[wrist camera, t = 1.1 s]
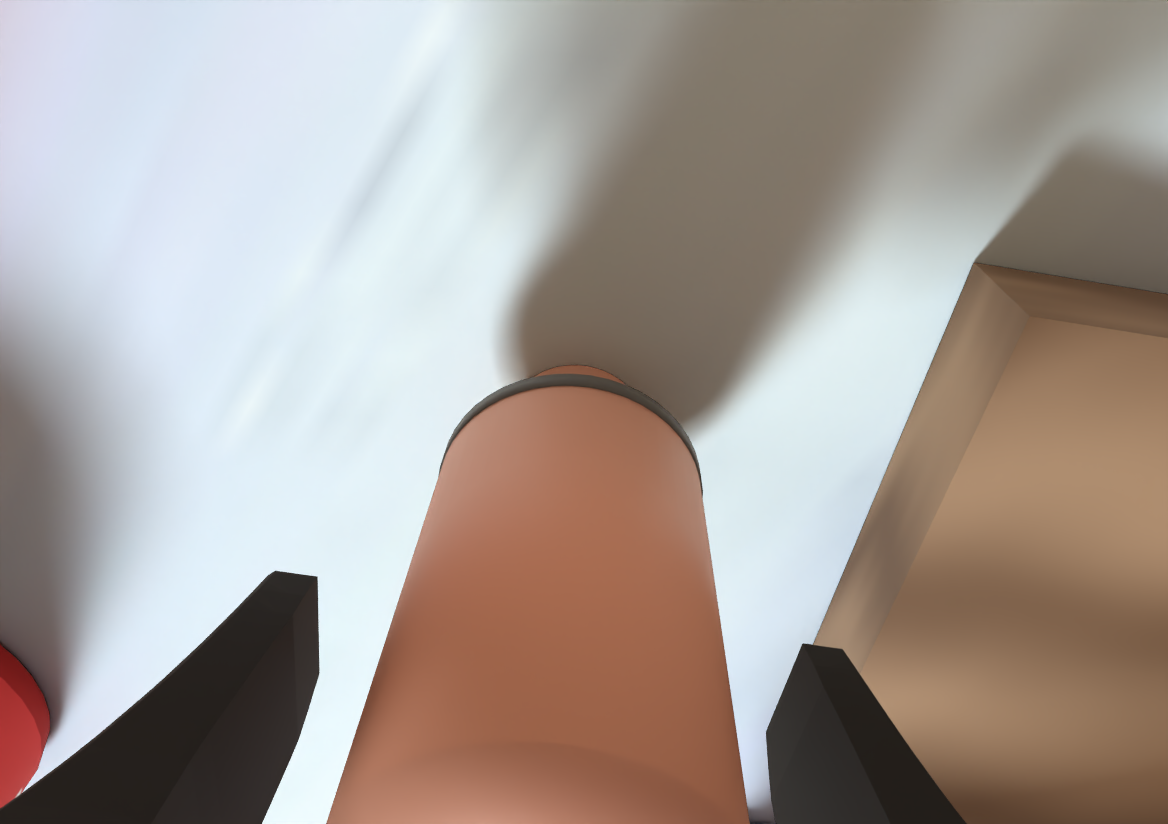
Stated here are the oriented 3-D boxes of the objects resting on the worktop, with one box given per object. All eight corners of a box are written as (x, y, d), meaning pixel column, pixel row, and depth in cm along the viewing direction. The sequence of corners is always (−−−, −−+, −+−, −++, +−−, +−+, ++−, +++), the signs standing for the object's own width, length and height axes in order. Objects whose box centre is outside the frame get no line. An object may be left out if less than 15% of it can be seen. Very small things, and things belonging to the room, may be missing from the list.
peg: (665, 531, 19) (703, 1013, 11) (453, 500, 19) (319, 967, 11) (715, 340, 17) (817, 775, 8) (470, 302, 17) (312, 708, 8)
